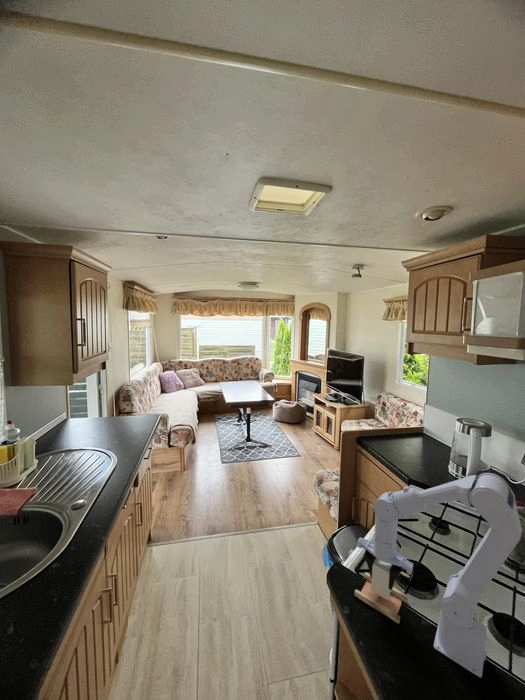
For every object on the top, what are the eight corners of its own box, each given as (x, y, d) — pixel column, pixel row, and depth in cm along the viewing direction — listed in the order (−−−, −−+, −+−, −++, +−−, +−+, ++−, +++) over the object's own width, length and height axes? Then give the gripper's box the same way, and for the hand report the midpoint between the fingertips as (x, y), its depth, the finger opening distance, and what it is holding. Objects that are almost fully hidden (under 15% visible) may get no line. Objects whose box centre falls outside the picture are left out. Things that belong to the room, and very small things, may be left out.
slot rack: (413, 582, 89) (414, 577, 89) (398, 623, 77) (399, 618, 77) (374, 561, 97) (374, 557, 97) (354, 595, 84) (354, 590, 84)
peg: (391, 589, 84) (394, 563, 83) (387, 600, 81) (389, 573, 80) (376, 580, 87) (378, 554, 86) (370, 590, 84) (372, 564, 83)
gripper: (417, 542, 81) (413, 587, 82) (364, 518, 90) (361, 559, 91) (410, 557, 75) (406, 605, 76) (355, 530, 84) (352, 574, 86)
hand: (381, 581), depth 83 cm, fingers closed on peg, 4 cm apart
